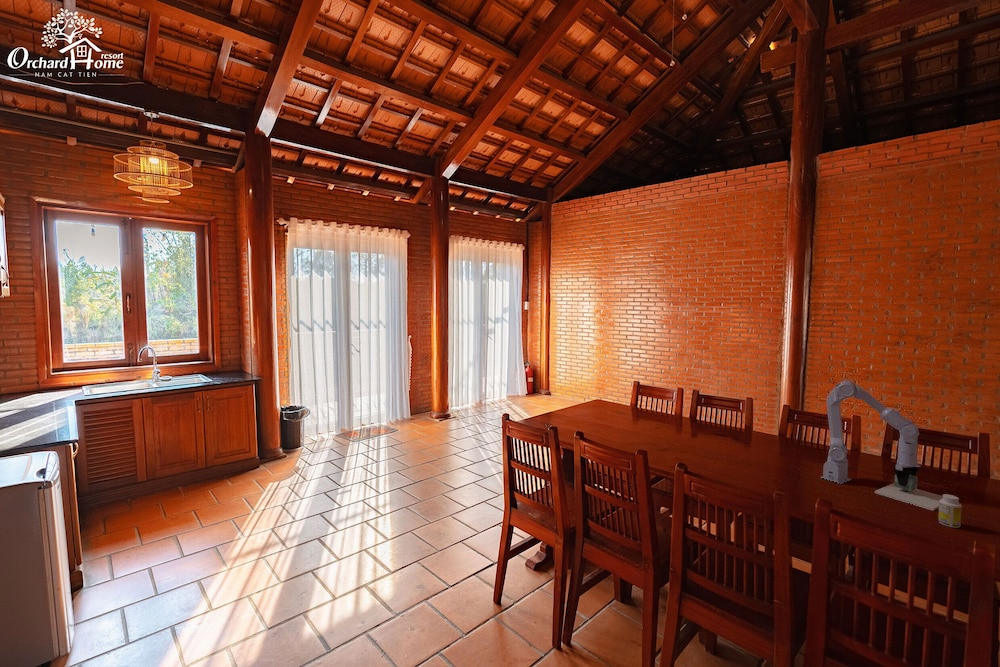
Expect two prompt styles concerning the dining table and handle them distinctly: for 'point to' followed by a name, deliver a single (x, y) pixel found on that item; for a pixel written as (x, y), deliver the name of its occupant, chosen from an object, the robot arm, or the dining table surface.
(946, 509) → the supplement bottle
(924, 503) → the pin plate
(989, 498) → the dining table surface
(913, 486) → the collar
